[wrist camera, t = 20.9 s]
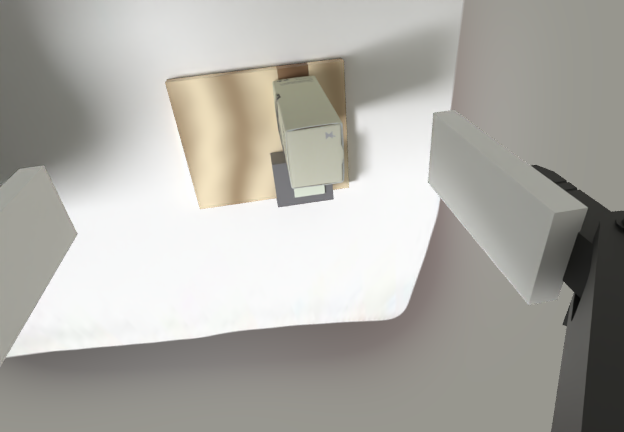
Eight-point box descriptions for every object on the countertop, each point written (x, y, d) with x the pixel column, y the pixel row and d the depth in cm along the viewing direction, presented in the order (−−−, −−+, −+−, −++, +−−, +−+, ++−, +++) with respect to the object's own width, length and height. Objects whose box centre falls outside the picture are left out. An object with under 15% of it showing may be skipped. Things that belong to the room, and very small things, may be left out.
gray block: (276, 193, 46) (278, 208, 44) (270, 152, 44) (271, 165, 41) (328, 186, 47) (333, 200, 44) (325, 145, 44) (331, 157, 41)
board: (200, 203, 47) (200, 209, 46) (167, 79, 39) (165, 82, 38) (346, 182, 48) (348, 187, 47) (341, 58, 41) (343, 60, 40)
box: (271, 79, 40) (282, 126, 29) (316, 74, 40) (344, 118, 29) (277, 131, 42) (290, 191, 32) (319, 126, 43) (346, 184, 32)
